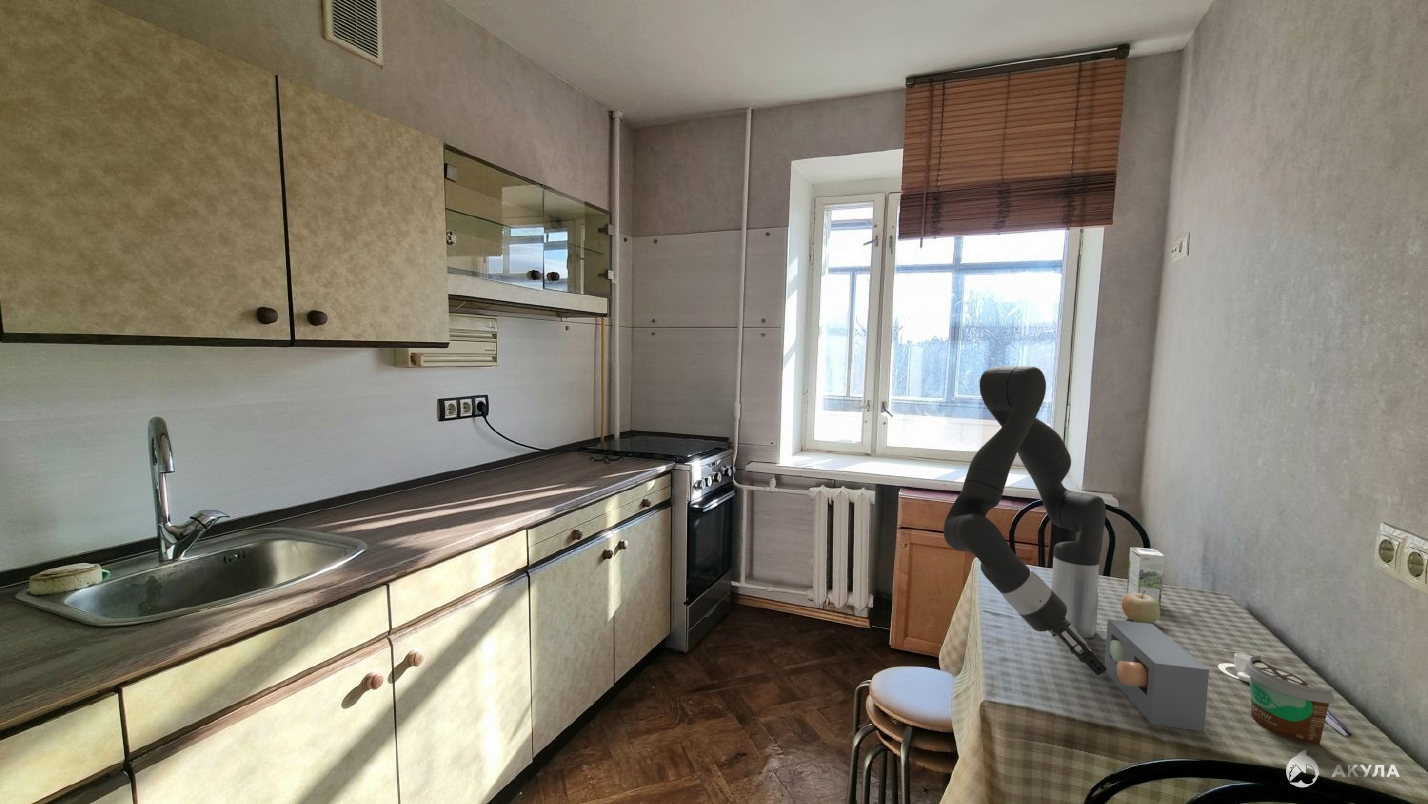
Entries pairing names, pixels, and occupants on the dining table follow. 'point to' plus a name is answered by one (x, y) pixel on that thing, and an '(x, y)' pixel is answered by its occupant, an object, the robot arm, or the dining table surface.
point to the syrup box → (1146, 572)
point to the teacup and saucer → (1238, 666)
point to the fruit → (1141, 608)
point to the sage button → (1116, 650)
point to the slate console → (1160, 676)
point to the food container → (1287, 702)
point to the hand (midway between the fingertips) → (1100, 670)
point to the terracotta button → (1132, 673)
